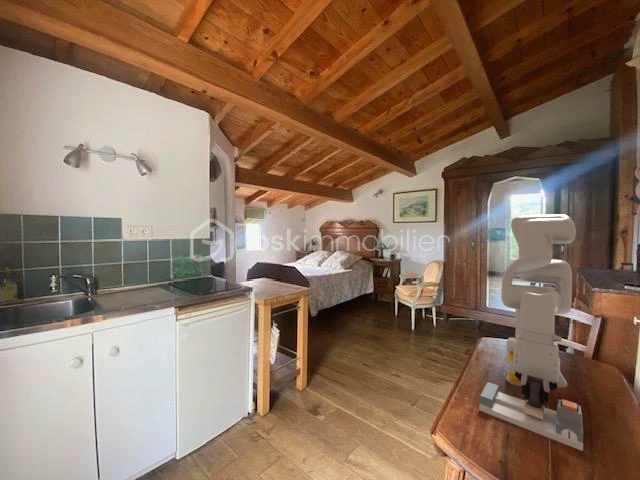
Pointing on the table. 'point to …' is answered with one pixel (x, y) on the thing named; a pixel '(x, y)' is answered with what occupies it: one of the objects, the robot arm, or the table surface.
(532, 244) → the robot arm
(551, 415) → the rail base
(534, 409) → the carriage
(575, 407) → the button
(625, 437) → the table surface
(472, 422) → the table surface
